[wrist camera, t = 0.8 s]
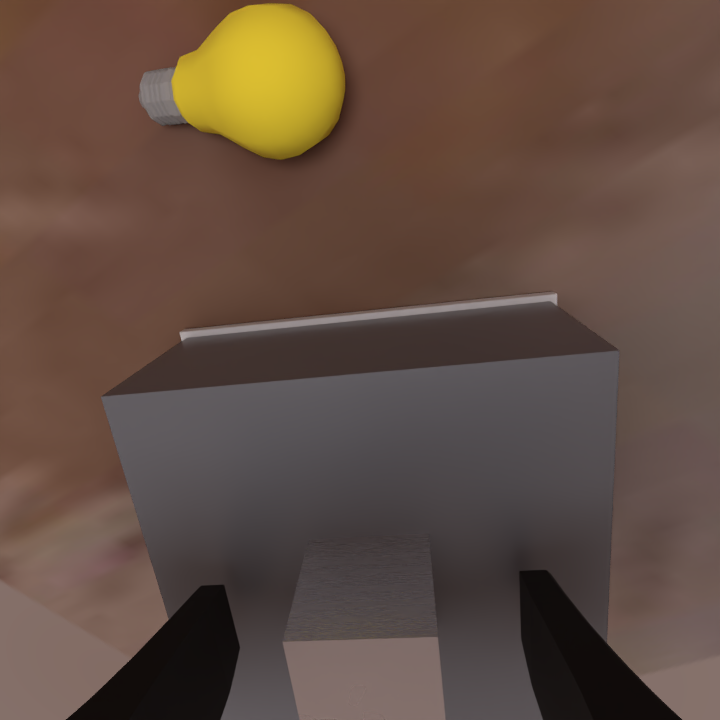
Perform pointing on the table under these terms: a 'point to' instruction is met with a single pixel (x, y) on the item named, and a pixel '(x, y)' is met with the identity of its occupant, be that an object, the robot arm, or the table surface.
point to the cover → (378, 501)
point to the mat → (371, 314)
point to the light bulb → (255, 82)
